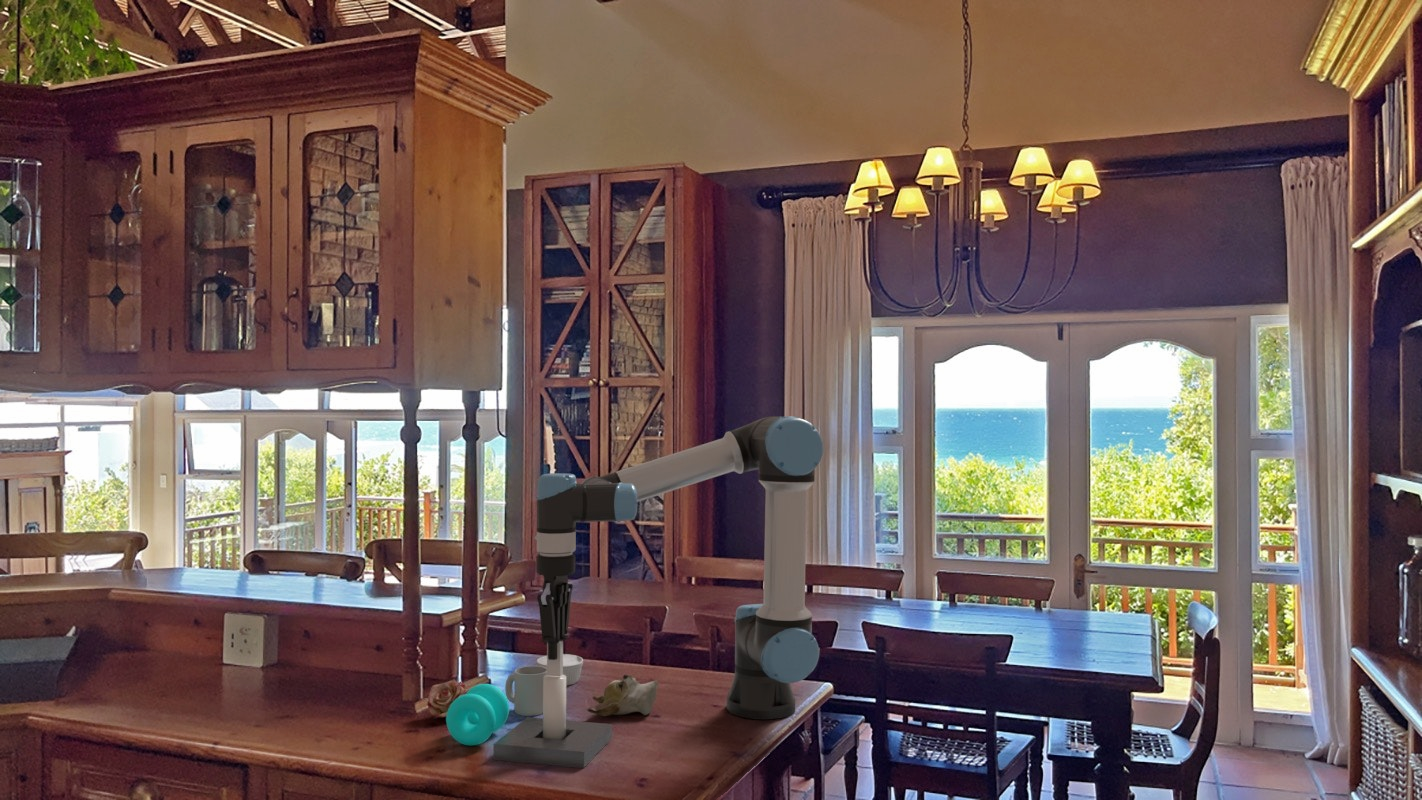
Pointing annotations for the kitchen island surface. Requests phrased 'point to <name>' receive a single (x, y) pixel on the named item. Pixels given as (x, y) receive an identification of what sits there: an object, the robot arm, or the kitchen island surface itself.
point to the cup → (526, 690)
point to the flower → (444, 697)
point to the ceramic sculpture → (626, 697)
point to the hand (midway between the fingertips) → (554, 674)
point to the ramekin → (567, 667)
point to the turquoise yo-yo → (477, 714)
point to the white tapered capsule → (554, 707)
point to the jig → (553, 744)
